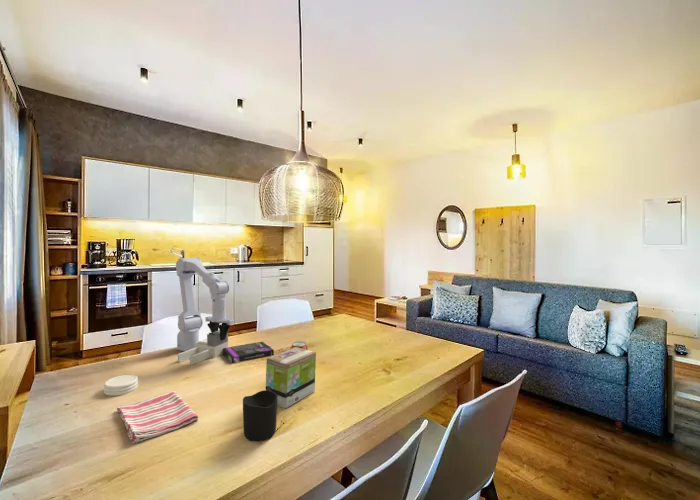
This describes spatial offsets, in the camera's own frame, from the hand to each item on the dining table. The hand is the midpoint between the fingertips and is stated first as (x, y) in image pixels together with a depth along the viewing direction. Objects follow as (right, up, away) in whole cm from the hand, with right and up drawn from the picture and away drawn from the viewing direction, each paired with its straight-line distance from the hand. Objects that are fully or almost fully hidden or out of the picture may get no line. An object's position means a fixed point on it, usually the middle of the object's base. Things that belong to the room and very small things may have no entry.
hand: (219, 339), depth 148 cm
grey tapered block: (0, -2, -1) cm, 2 cm away
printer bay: (-9, -9, +3) cm, 13 cm away
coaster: (-23, -10, -30) cm, 39 cm away
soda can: (+38, -10, -13) cm, 41 cm away
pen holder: (+33, -12, -55) cm, 65 cm away
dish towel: (0, -11, -47) cm, 49 cm away
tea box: (+38, -11, -33) cm, 52 cm away
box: (+11, -10, +7) cm, 16 cm away
